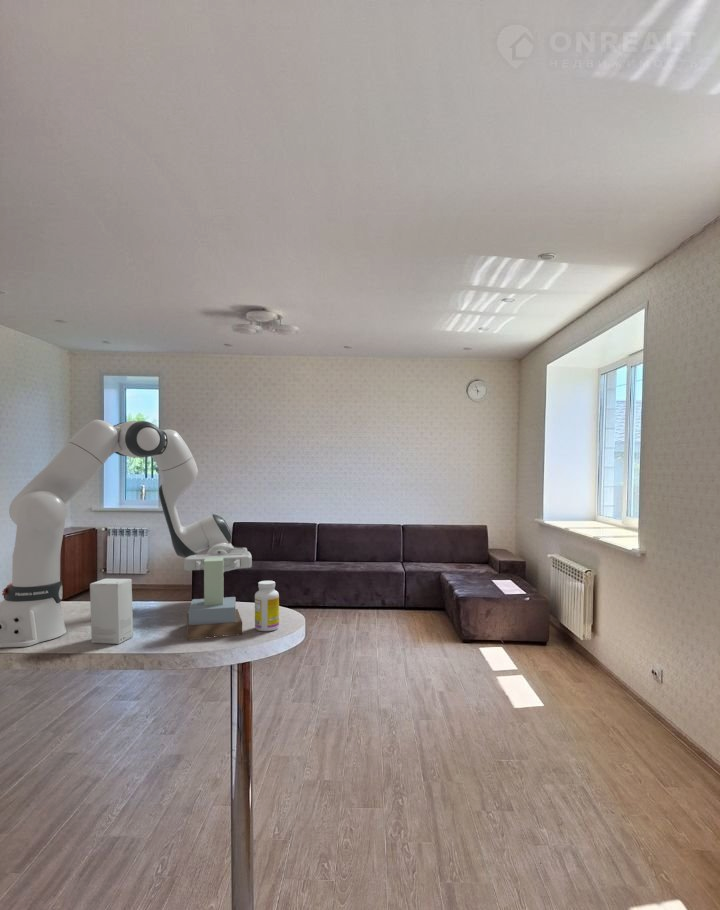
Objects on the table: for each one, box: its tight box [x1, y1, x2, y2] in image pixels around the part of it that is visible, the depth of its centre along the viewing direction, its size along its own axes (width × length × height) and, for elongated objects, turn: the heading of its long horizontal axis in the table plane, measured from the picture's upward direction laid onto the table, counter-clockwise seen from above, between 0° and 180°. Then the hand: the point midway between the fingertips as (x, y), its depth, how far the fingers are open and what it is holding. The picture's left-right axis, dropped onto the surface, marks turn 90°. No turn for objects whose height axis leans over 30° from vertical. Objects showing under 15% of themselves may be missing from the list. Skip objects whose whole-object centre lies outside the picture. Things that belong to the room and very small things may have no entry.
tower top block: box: [188, 596, 237, 625], centre depth 148 cm, size 12×12×4 cm
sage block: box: [203, 558, 224, 606], centre depth 149 cm, size 5×5×12 cm
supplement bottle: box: [254, 580, 280, 632], centre depth 149 cm, size 7×7×13 cm
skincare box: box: [89, 578, 134, 645], centre depth 140 cm, size 8×7×16 cm
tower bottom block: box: [186, 608, 243, 641], centre depth 148 cm, size 14×14×4 cm
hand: (217, 566), depth 159 cm, fingers open, 8 cm apart
